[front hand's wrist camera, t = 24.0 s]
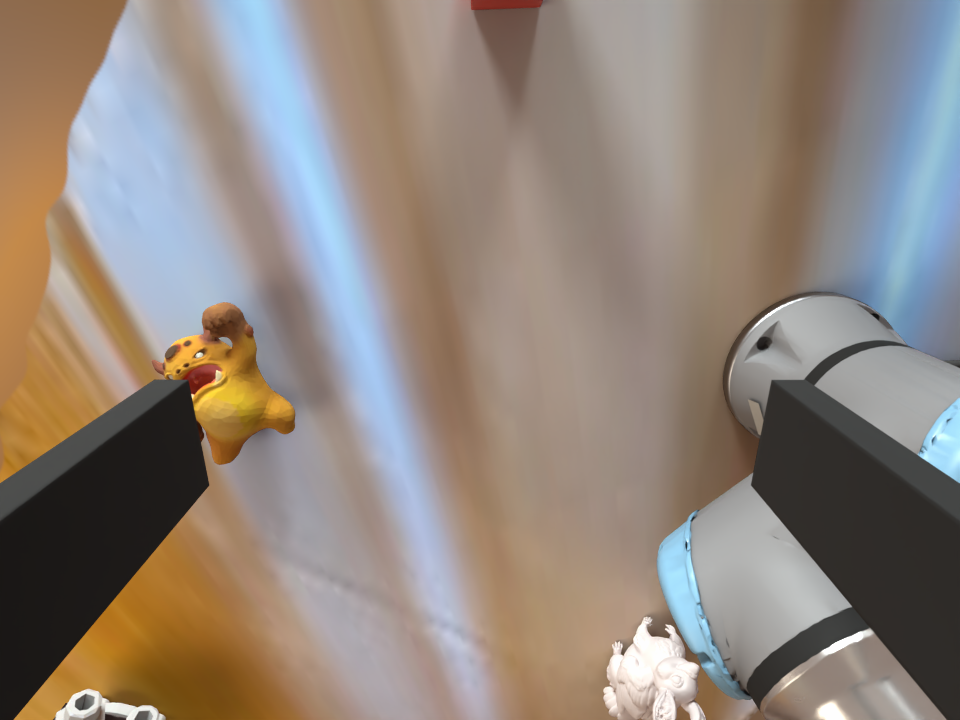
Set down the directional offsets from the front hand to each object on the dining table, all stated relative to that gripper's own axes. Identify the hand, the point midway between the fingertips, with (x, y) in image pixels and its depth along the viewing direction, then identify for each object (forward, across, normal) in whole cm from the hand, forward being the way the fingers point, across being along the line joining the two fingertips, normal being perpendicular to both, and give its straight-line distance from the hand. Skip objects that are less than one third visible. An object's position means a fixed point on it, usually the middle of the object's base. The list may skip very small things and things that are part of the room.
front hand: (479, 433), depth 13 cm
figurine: (+38, +19, -49) cm, 64 cm away
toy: (+38, -23, -13) cm, 46 cm away
